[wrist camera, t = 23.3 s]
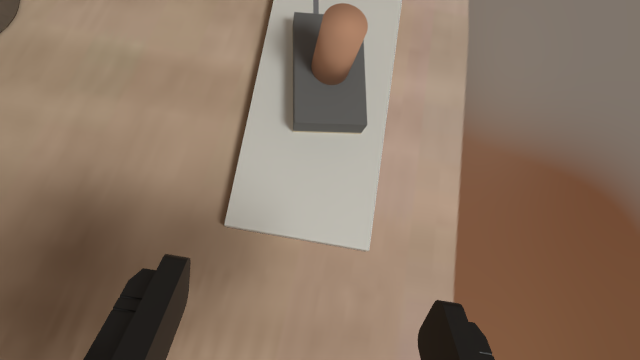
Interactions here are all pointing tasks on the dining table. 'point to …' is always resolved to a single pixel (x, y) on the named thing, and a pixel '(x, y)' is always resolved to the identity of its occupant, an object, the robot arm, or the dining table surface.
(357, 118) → the sanding block
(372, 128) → the marked board
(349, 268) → the dining table surface
